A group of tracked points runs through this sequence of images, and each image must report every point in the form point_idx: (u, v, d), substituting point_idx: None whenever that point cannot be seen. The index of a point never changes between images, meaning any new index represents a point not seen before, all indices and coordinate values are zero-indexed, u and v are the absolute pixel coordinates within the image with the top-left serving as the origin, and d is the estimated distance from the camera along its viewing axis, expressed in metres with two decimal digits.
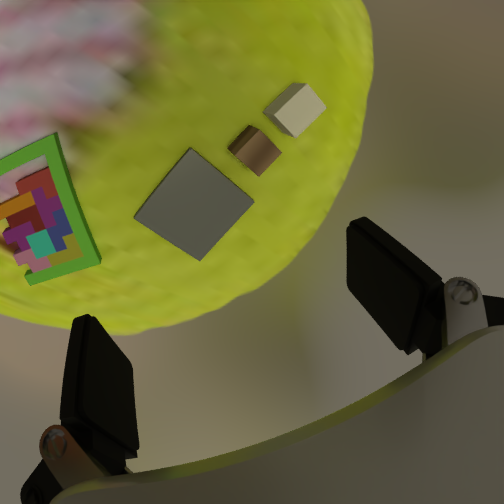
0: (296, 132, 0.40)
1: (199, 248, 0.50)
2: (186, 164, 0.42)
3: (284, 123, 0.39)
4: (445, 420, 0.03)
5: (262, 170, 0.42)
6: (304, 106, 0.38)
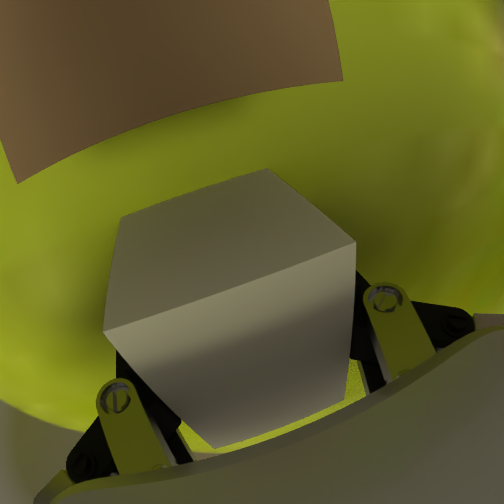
0: (146, 345, 0.05)
1: None
2: None
3: (257, 289, 0.05)
4: (445, 420, 0.03)
5: None
6: (276, 394, 0.08)
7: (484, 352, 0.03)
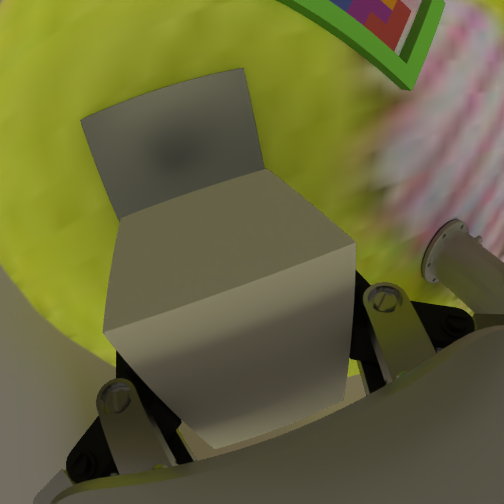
0: (146, 346, 0.05)
1: (105, 133, 0.20)
2: None
3: (257, 290, 0.05)
4: (445, 420, 0.03)
5: None
6: (276, 394, 0.08)
7: (484, 352, 0.03)
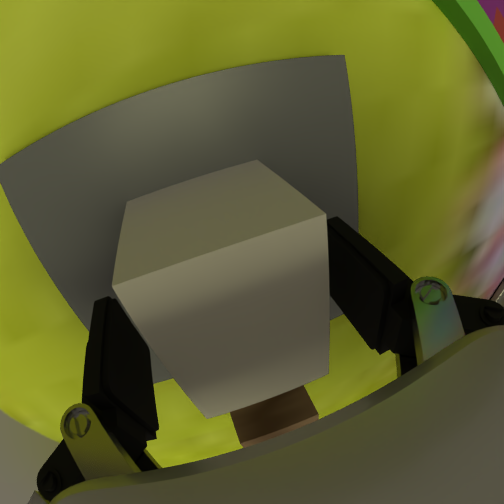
0: (148, 300, 0.06)
1: (45, 194, 0.09)
2: None
3: (242, 251, 0.06)
4: (445, 420, 0.03)
5: (248, 446, 0.15)
6: (262, 359, 0.09)
7: (484, 352, 0.03)
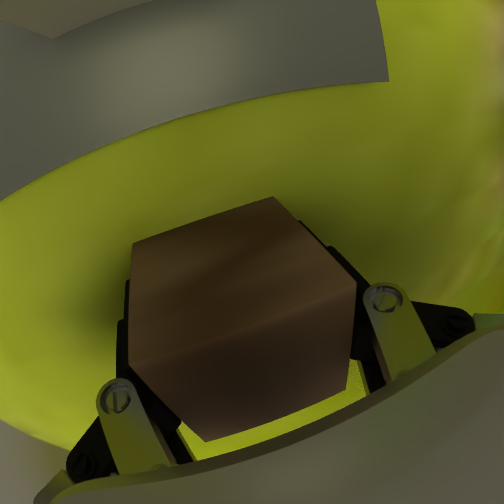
0: None
1: None
2: (351, 18, 0.06)
3: None
4: (445, 420, 0.03)
5: (161, 386, 0.06)
6: None
7: (484, 352, 0.03)
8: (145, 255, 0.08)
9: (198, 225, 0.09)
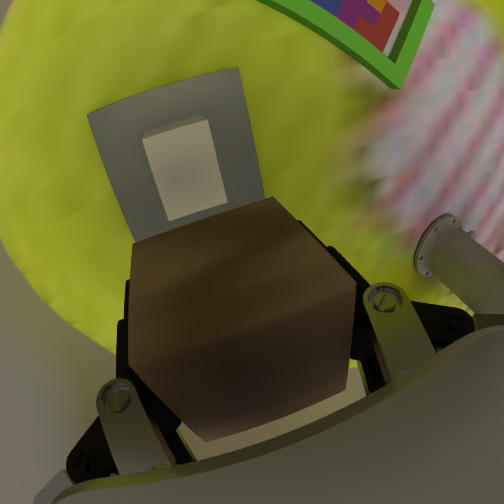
0: (152, 145, 0.20)
1: (110, 127, 0.22)
2: (250, 185, 0.29)
3: (181, 130, 0.20)
4: (445, 420, 0.03)
5: (161, 386, 0.06)
6: (191, 180, 0.22)
7: (484, 352, 0.03)
8: (145, 255, 0.08)
9: (198, 225, 0.09)
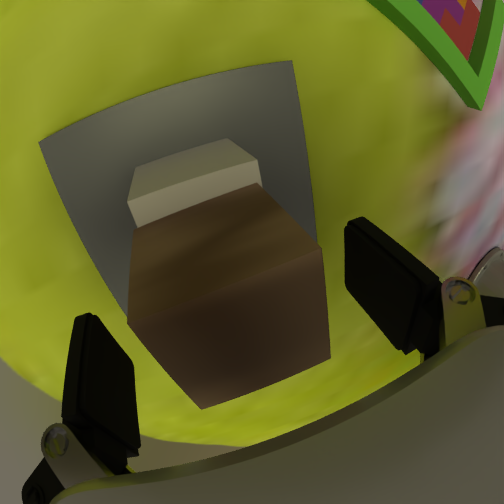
0: (148, 212, 0.10)
1: (76, 162, 0.13)
2: None
3: (205, 181, 0.10)
4: (445, 420, 0.03)
5: (156, 346, 0.07)
6: None
7: (484, 352, 0.03)
8: (144, 238, 0.10)
9: (190, 210, 0.10)
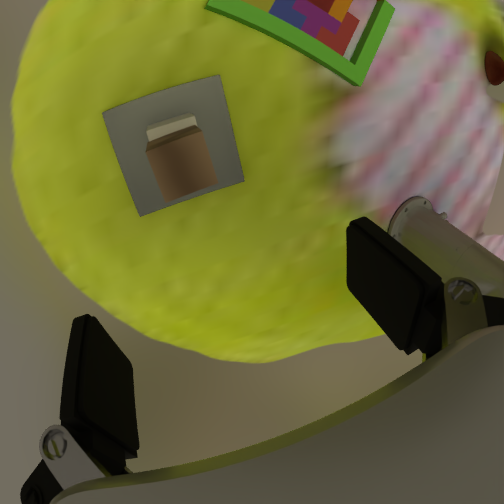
0: (153, 135, 0.26)
1: (120, 122, 0.28)
2: (231, 167, 0.35)
3: (175, 124, 0.26)
4: (445, 420, 0.03)
5: (152, 162, 0.23)
6: None
7: (484, 352, 0.03)
8: (151, 142, 0.25)
9: (169, 134, 0.26)
